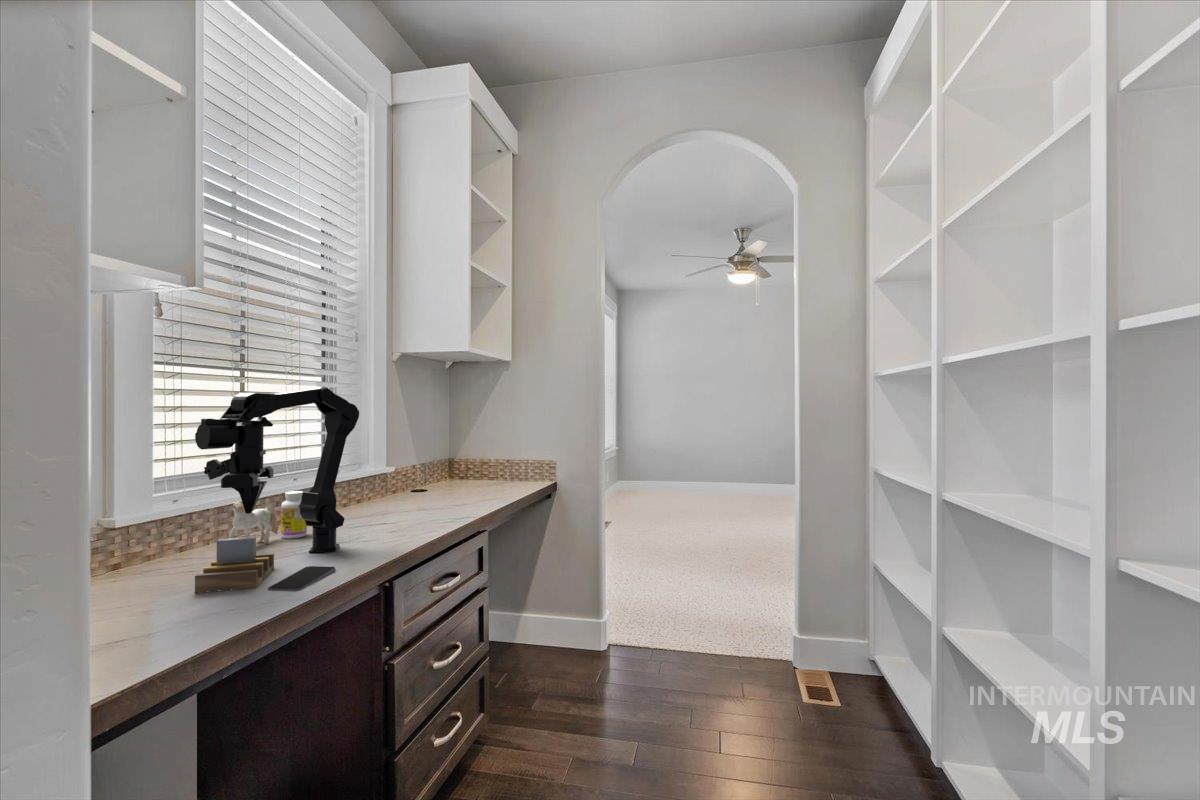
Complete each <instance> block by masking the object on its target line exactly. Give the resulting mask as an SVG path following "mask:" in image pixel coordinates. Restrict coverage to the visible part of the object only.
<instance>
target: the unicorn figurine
mask: <svg viewBox="0 0 1200 800" xmlns="http://www.w3.org/2000/svg"><path fill="white" fill-rule="evenodd" d="M232 511H234V518H233V520H232V526H233V527H232V529H231V531H230V533H229V535H228V538H234V536H235V534H236V533H237V532H238V531H239V530H243V531H244V534H245V537H251V535H250V532H249V529H252V528H255V527H258V528H259V530H260V537H259V538H258V539H256V544H262V543H263V542H264V545H265V546H267V545H268V544H269V542H270V540H269V539H270V537H271V536H270V533H271V532H272V533H274V534H275V535H278V531H279V529H280V527H279V525H277V524H278V523H279V522H278V521H276V520H277V517H276V513H275V509H274V508H273V507H272V506H266V507H264V508H256V509H253V511H252V513H250V514H246V513H245V509H244V506H243V503H242V502H240V501H235V502H233V504H232ZM265 528H266V531H265Z"/></svg>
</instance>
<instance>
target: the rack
mask: <svg viewBox="0 0 1200 800" xmlns="http://www.w3.org/2000/svg"><path fill="white" fill-rule="evenodd" d="M274 569H275V552H272V553H256V563H250V564H236V565H221V566H217V560H212V561H211V562H210V566H204V567H203V569H202V571H203V573H197V574H196V575H194V594H199V593H198V592H202V593H208V592H207V591H215V592H219V591H218V590H227V591H234V590H233V589H239V590H249V588H251V589H256V588H258V587H259V585H260V584H261V583H262V582H263V581H264V580H265V579H266V578H267V576H268V575H269V574H271V572H272V571H273V570H274ZM231 589H232V590H231Z"/></svg>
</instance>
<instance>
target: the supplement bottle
mask: <svg viewBox="0 0 1200 800" xmlns="http://www.w3.org/2000/svg"><path fill="white" fill-rule="evenodd" d="M303 492H304V491H303V490H292V491H291V490H290V491H287V492H284V497H285V501H283V502H282V503H281V504H280V506H281V507H280V537H281V538H283V539H289V540H290V539H299V538H302V537H305V536H307V532H308V526H306V523H305V520H304V519H303V518H302V516H301V515H300V508H299V507H298V506H299V505H300V503H301V499H302V494H303Z"/></svg>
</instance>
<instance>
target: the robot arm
mask: <svg viewBox="0 0 1200 800" xmlns="http://www.w3.org/2000/svg"><path fill="white" fill-rule="evenodd" d="M312 404H314V405H315V406H316V408H317V409H318V411H319V412H320V413H322V414H323V415H324V427H325V431H326V436H325V440H324V445H323V449H322V453H321V456H320V460H319V464H318V468H317V472H316V475H315V479H314V480H315V481H314V483H313V486H312V488H311V489H310V490H309V491H303V494H302V499H301V503H300V505H299V506H298V507H299V508H300V515H301V516H302V518H303V519H304V520H305V523H306V526H307V527H312V534H311V535H312V536H311V537H312V544H311V545H312V546H311V548H310V549H309V550H308V553H309V554H313V553H327V552H328V553H329V552H336V551H337V550H338V549H339V547H340V543H337V529H338V528H340V527H343V525H344V523H345V519H346V518H345V517H344V516H343V515H342V514H341V513H340V512H339V511H338V510H337V501H338V500H337V497H336V493H335V486H336V481H337V477H338V474H339V469H340V465H341V462H342V457H343V453H344V449H345V445H346V441H347V438H348V436H349V435H350V434H351V432H352V431H353V430H354V429H355V428H356V425H357V423H358V421H359V419H360V410H359V409H358V407H357V406H356V405H355V404H354V403H350V402H349V401H348V400H346V399H345V398H344V397H341V396H340V395H338V394H336V393H334V392H333V391H332V390H331V389H330V388H328V387H326V386H323V387H322V386H321V387H319V386H317V387H312V388H307V389H300V390H292V391H286V392H278V393H266V392H265V393H263V392H261V393H260V392H244V393H242V392H241V393H238V394H234V395H233V398H232V399H231V401H230V405H229V407H228V408H227V409H226V411H224V413H223V414H222V415H221V417H220V418H208V417H207V418H201V419H200V424H199V425H198V427H197V429H196V432H195V434H194V441H195V444H196V446H197V447H198V449H199V450H214V449H215V450H216V449H217V450H218V449H229V448H232V447H233V446H234V451H232V452H231V453H230V457H229V458H227V459H224V460H222V461H219V460H218V459H217V458H215V459H211V460H209V461H206V464H205V467H203V469H204V471H203V473H204V474H205V475H207V477H208V480H209V481H211V480H213V479H214V480H215V479H216V478H219V477H221V476H222V477H221V479H220V488H221V489H230V488H231V489H233V490H235V491H236V492H238V494H239V497H240V500H241V503H243V506H244V509H245V513H246V514H250V513H252V511H254V510H255V508H256V505H257V503H258V500H259V499H260V496H261V494H262V492H263V490H264V488H265V486H266V485H267V483H268V481H267V480H262V481H261V478H268V479H272V478H274V468H272V467H271V466H270V465H264V455H266V454H267V453H266V449H264V428H268V427H270V428H271V427H273V426H274V424H273V423H272V422H271V421H270V420H268V418H267V417H266V416H268V415H270V414H273V413H274V412H276V411H278V410H281V409H286V408H292V407H293V408H294V407H299V406H305V405H312ZM255 418H257V419H255ZM238 423H240V424H238ZM223 475H224V476H223Z"/></svg>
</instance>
